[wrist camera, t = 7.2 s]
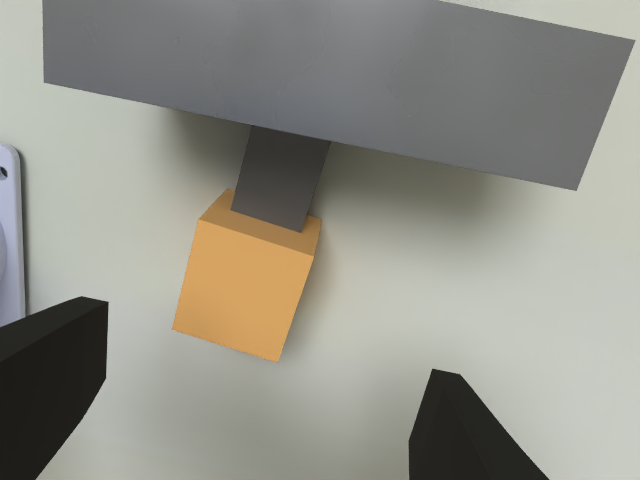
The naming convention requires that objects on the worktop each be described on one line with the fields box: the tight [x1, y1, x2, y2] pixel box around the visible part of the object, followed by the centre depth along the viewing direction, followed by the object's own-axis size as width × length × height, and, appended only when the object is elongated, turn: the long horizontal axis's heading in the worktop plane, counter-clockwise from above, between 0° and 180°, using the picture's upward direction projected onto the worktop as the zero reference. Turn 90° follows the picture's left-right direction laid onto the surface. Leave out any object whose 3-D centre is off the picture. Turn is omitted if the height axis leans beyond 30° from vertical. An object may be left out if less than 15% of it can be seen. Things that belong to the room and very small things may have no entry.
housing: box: [42, 0, 635, 191], centre depth 13 cm, size 3×12×6 cm, turn 79°
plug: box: [172, 125, 331, 363], centre depth 15 cm, size 14×4×4 cm, turn 162°
